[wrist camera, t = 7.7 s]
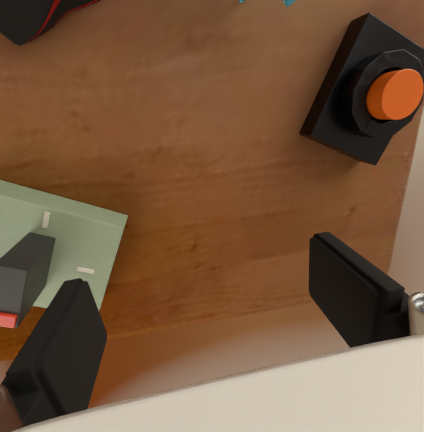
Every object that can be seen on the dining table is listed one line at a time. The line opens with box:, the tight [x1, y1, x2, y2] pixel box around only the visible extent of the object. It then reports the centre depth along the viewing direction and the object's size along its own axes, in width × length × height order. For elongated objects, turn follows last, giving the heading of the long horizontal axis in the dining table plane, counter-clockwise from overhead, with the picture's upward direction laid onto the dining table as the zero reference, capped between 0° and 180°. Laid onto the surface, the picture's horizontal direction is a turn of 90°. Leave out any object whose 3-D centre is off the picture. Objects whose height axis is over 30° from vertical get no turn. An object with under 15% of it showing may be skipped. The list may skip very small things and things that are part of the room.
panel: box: [0, 180, 128, 310], centre depth 24 cm, size 12×10×3 cm
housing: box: [299, 13, 424, 165], centre depth 23 cm, size 10×8×4 cm
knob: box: [0, 232, 56, 328], centre depth 20 cm, size 5×2×5 cm, turn 159°
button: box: [366, 69, 424, 120], centre depth 21 cm, size 4×4×2 cm
